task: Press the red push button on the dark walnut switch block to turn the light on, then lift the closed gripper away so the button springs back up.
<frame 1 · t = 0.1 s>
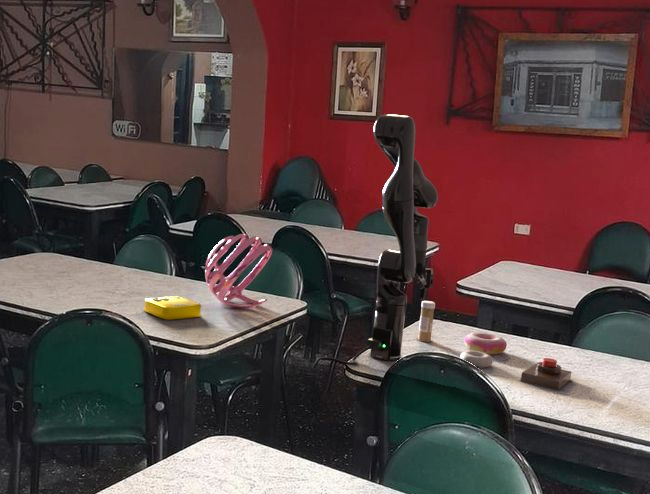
hand: (408, 297, 274), 17 cm above the table, tool pointing down, fingers open, 8 cm apart
switch block: (545, 380, 255), on the table
element tile: (172, 314, 296), on the table
donut 2: (484, 351, 284), on the table
light button: (549, 363, 255), point 5 cm above the table, slide at 0.1 cm
donut: (475, 364, 266), on the table
sprinkles bottle: (424, 340, 291), on the table
spiral basket: (235, 304, 321), on the table
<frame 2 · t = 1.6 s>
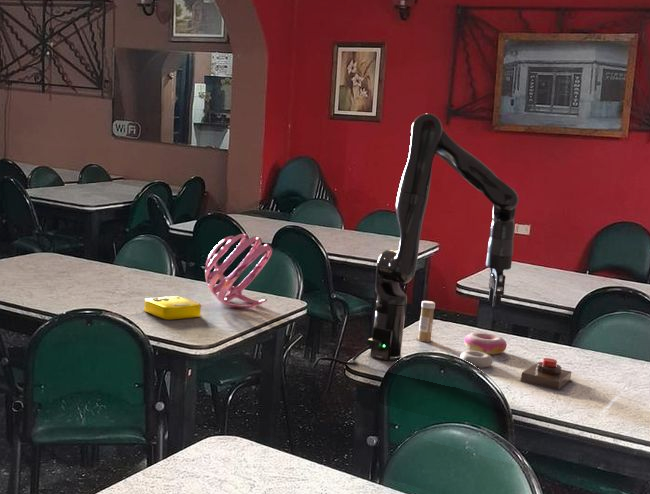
hand: (494, 304, 262), 20 cm above the table, tool pointing down, fingers open, 8 cm apart
nothing on the table moved.
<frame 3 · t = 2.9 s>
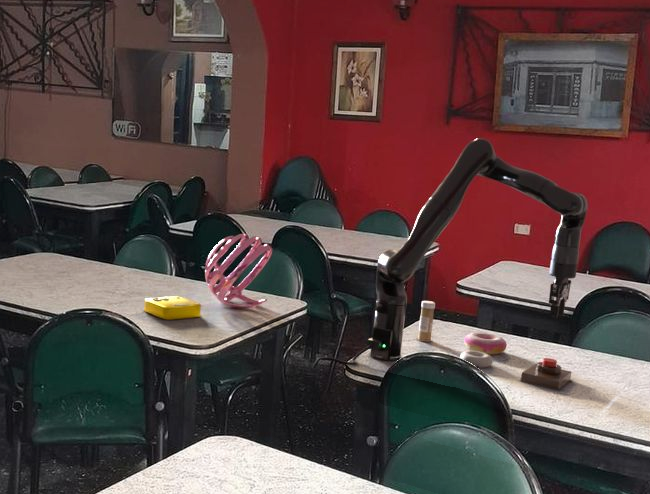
hand: (556, 315, 253), 20 cm above the table, tool pointing down, fingers open, 6 cm apart
nothing on the table moved.
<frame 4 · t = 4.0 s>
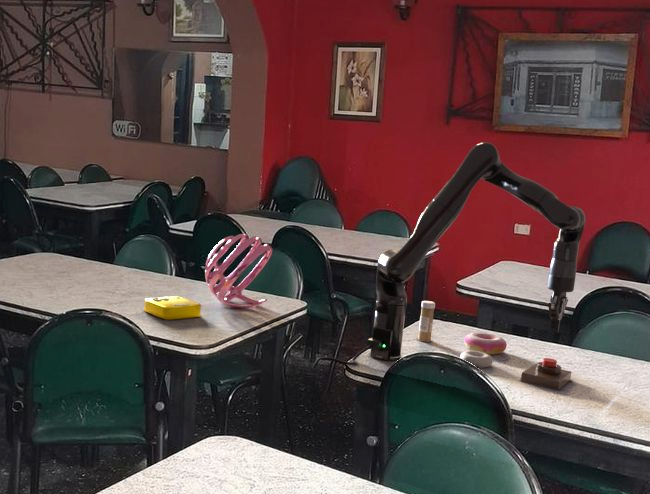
hand: (554, 331, 254), 15 cm above the table, tool pointing down, fingers closed
nothing on the table moved.
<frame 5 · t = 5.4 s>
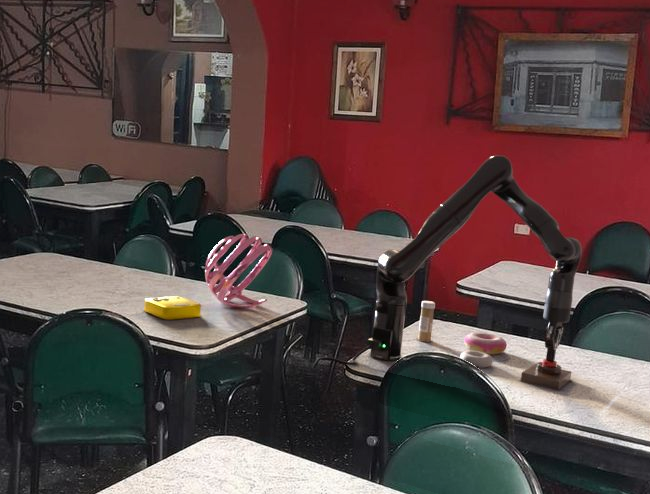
hand: (550, 360, 255), 6 cm above the table, tool pointing down, fingers closed
light button: (549, 364, 255), point 5 cm above the table, slide at -0.2 cm, touching gripper
everything else where it was.
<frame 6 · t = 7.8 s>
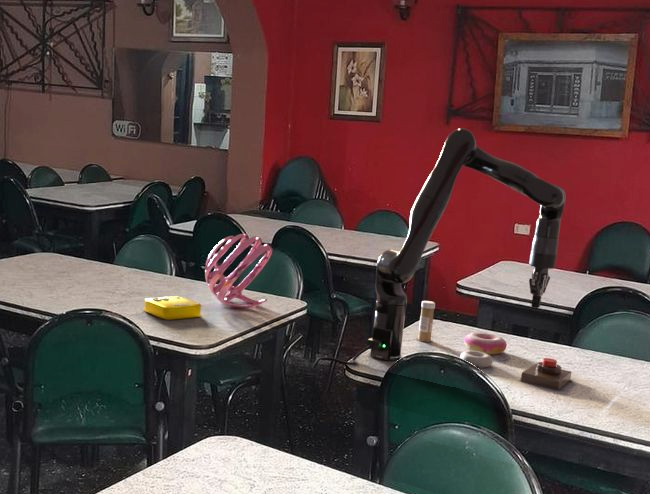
hand: (535, 307, 259), 20 cm above the table, tool pointing down, fingers closed
light button: (549, 363, 255), point 5 cm above the table, slide at 0.1 cm
everything else where it was.
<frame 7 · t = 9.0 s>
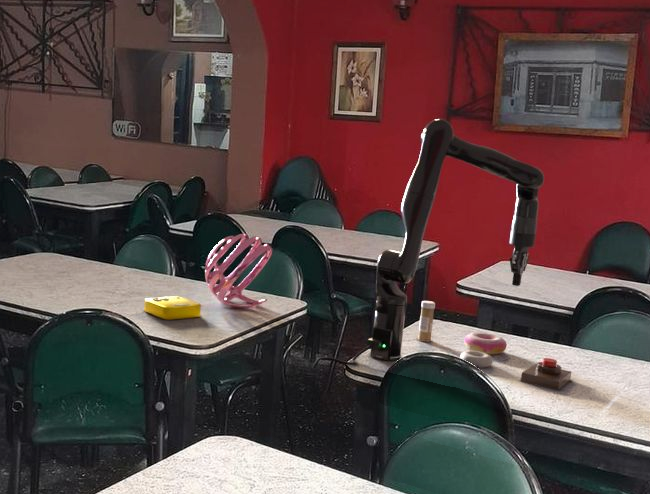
hand: (516, 285, 268), 25 cm above the table, tool pointing down, fingers closed
nothing on the table moved.
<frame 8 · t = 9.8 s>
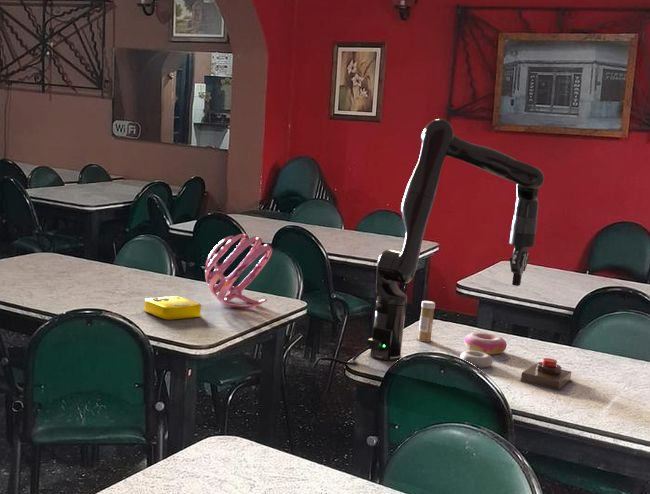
hand: (516, 285, 268), 25 cm above the table, tool pointing down, fingers closed
nothing on the table moved.
at the end: light button pushed in 1.1 cm at the most during the clip and back out by the end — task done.
